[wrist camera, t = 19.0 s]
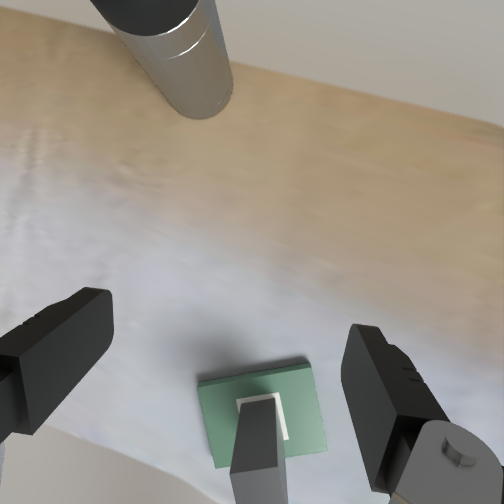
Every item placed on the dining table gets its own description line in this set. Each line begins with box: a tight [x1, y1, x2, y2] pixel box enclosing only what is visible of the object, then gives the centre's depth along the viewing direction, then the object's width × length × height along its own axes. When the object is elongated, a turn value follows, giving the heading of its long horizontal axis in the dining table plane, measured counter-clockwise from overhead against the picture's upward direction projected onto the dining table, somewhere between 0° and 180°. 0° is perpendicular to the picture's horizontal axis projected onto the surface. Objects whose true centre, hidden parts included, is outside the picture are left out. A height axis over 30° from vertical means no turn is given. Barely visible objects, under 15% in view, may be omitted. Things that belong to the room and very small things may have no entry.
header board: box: [197, 363, 328, 469], centre depth 40 cm, size 16×12×6 cm
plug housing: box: [230, 398, 288, 504], centre depth 35 cm, size 5×6×12 cm
